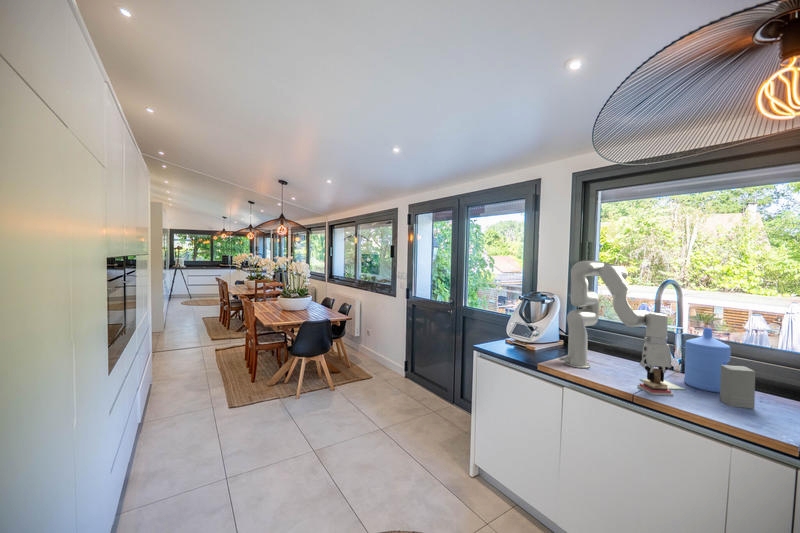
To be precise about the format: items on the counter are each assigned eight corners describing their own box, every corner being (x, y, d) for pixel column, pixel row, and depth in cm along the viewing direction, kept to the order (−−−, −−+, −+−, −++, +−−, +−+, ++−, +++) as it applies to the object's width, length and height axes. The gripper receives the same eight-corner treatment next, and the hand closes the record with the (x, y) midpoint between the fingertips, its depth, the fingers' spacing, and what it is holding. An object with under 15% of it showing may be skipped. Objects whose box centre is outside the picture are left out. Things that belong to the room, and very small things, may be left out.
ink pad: (652, 395, 139) (652, 390, 139) (637, 387, 148) (637, 383, 148) (673, 395, 139) (673, 391, 139) (657, 387, 148) (657, 383, 148)
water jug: (694, 390, 146) (696, 330, 146) (677, 379, 161) (679, 324, 161) (738, 395, 141) (740, 333, 140) (717, 383, 155) (718, 327, 155)
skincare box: (743, 403, 133) (744, 365, 133) (756, 410, 126) (757, 371, 126) (718, 400, 136) (719, 363, 135) (729, 406, 129) (730, 368, 129)
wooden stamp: (653, 389, 141) (654, 371, 141) (643, 384, 147) (644, 366, 147) (667, 389, 140) (667, 371, 140) (656, 384, 146) (657, 367, 146)
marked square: (658, 389, 146) (658, 388, 146) (639, 379, 158) (639, 378, 158) (685, 389, 146) (685, 389, 146) (664, 380, 158) (664, 379, 158)
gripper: (643, 341, 140) (642, 383, 140) (682, 342, 139) (681, 384, 139) (631, 337, 147) (630, 377, 147) (668, 339, 147) (667, 378, 147)
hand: (655, 380), depth 143 cm, fingers closed on wooden stamp, 3 cm apart
